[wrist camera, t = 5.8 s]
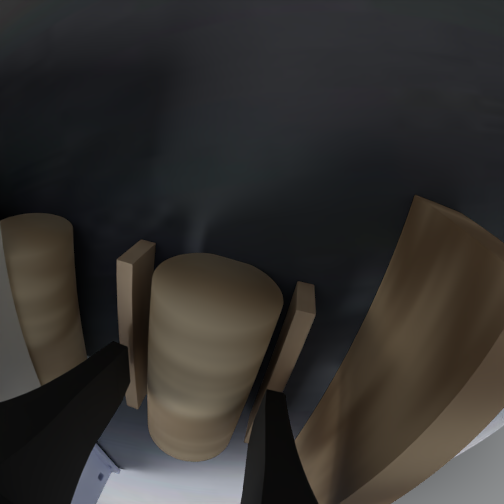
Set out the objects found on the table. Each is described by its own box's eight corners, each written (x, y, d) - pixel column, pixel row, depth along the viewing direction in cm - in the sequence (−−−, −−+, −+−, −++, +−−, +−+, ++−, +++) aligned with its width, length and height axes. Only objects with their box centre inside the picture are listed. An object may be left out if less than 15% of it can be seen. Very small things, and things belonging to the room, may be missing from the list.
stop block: (313, 461, 15) (308, 545, 10) (282, 457, 15) (271, 543, 10) (460, 213, 9) (574, 304, 3) (414, 194, 9) (527, 284, 3)
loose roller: (236, 404, 14) (225, 470, 11) (161, 385, 14) (137, 446, 10) (282, 270, 11) (283, 344, 7) (175, 242, 11) (129, 303, 7)
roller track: (261, 416, 14) (249, 483, 10) (-45, 277, 15) (-78, 301, 11) (314, 285, 10) (317, 366, 7) (-61, 179, 12) (-102, 196, 8)
